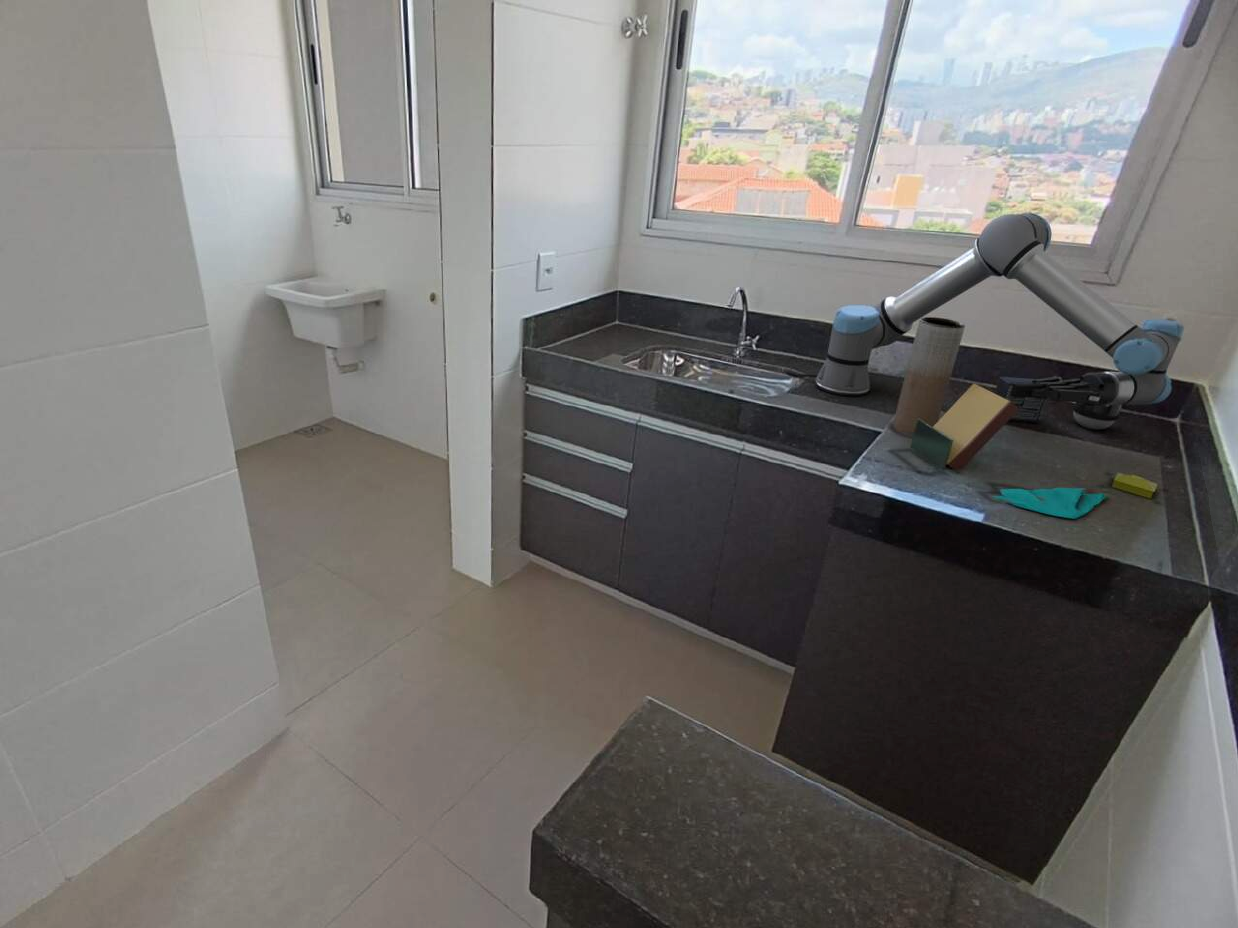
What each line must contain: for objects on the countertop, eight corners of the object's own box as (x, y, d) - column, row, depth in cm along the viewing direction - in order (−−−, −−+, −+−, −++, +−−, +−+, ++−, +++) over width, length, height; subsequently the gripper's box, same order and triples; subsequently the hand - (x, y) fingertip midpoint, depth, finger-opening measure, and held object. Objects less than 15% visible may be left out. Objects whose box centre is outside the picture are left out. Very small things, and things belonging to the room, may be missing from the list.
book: (949, 465, 144) (1011, 401, 139) (916, 443, 154) (973, 383, 150) (957, 472, 145) (1019, 409, 140) (924, 449, 156) (981, 390, 151)
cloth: (998, 513, 129) (1002, 503, 128) (972, 481, 141) (975, 471, 140) (1137, 526, 127) (1142, 516, 126) (1098, 493, 139) (1102, 483, 138)
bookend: (921, 474, 143) (931, 440, 140) (891, 450, 154) (899, 419, 150) (943, 473, 144) (953, 439, 141) (911, 450, 155) (920, 418, 151)
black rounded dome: (1116, 426, 177) (1138, 372, 170) (1109, 436, 170) (1132, 380, 163) (1072, 415, 183) (1092, 363, 176) (1064, 424, 176) (1085, 370, 169)
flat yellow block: (1102, 486, 142) (1107, 474, 141) (1109, 474, 149) (1114, 462, 147) (1158, 503, 136) (1164, 491, 135) (1163, 489, 143) (1169, 478, 141)
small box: (1026, 414, 182) (1039, 378, 177) (1037, 423, 176) (1051, 386, 171) (987, 411, 182) (998, 375, 178) (997, 420, 177) (1009, 382, 172)
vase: (907, 439, 161) (937, 327, 149) (884, 423, 169) (911, 316, 157) (942, 438, 163) (974, 327, 151) (918, 422, 171) (947, 316, 159)
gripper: (1121, 414, 146) (1030, 417, 141) (1074, 394, 157) (988, 396, 153) (1134, 382, 143) (1041, 384, 138) (1085, 364, 154) (998, 365, 150)
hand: (1014, 390), depth 146 cm, fingers closed
